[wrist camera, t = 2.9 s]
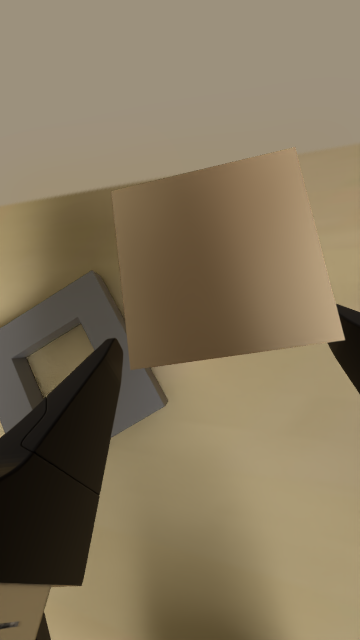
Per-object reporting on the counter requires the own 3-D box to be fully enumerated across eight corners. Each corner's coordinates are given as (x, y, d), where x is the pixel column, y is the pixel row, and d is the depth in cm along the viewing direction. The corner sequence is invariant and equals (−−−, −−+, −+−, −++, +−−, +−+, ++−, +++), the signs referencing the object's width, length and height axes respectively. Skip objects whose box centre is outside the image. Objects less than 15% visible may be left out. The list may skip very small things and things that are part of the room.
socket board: (100, 276, 20) (91, 270, 18) (168, 401, 18) (164, 406, 16) (-11, 346, 20) (-28, 346, 19) (40, 476, 18) (25, 487, 17)
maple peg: (228, 299, 18) (295, 146, 4) (236, 345, 18) (345, 340, 4) (182, 307, 19) (111, 190, 5) (189, 352, 18) (130, 370, 4)
